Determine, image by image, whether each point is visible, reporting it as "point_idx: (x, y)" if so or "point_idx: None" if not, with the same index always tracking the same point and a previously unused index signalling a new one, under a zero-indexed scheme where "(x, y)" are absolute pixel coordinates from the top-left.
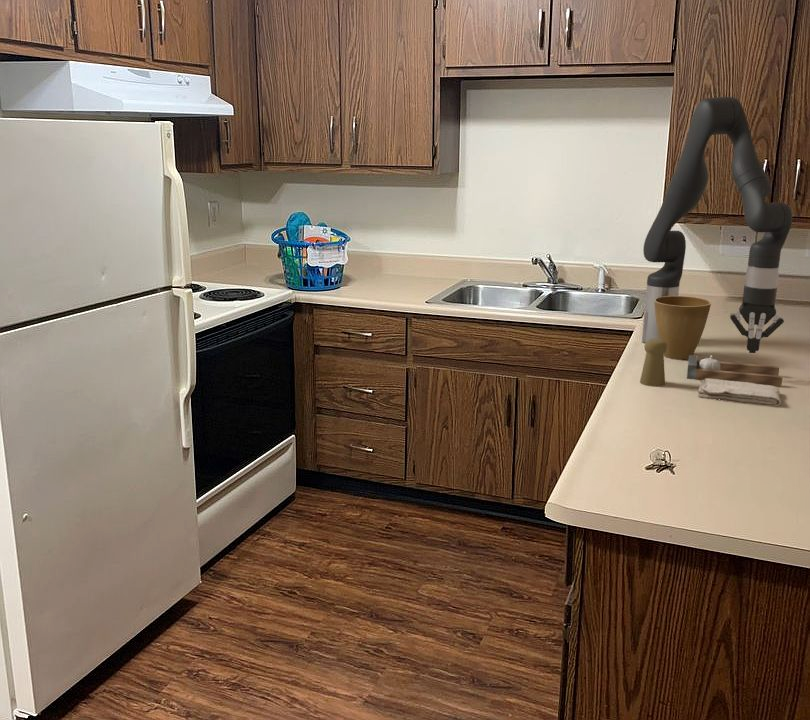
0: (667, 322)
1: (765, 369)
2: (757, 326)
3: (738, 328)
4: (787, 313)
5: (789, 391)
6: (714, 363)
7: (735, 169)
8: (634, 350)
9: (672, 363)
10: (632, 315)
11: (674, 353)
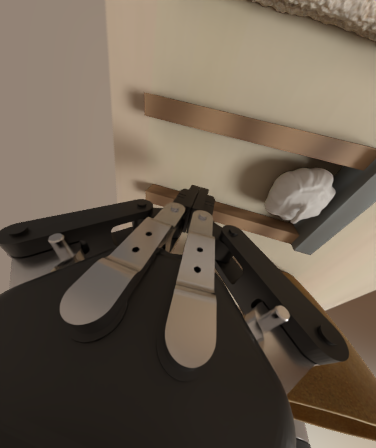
0: (359, 356)
1: (170, 195)
2: (166, 250)
3: (260, 255)
4: None
5: (140, 40)
6: (305, 181)
7: None
8: (323, 307)
9: (311, 257)
10: None
11: (295, 281)
